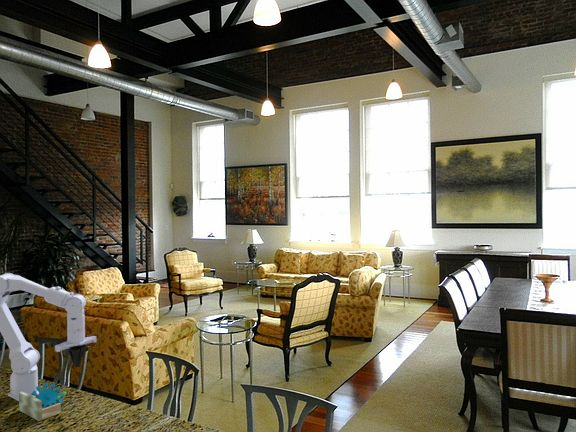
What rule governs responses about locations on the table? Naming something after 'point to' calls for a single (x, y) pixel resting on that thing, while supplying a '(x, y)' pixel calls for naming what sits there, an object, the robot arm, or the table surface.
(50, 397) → the gear
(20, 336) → the robot arm
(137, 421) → the table surface
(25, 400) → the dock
